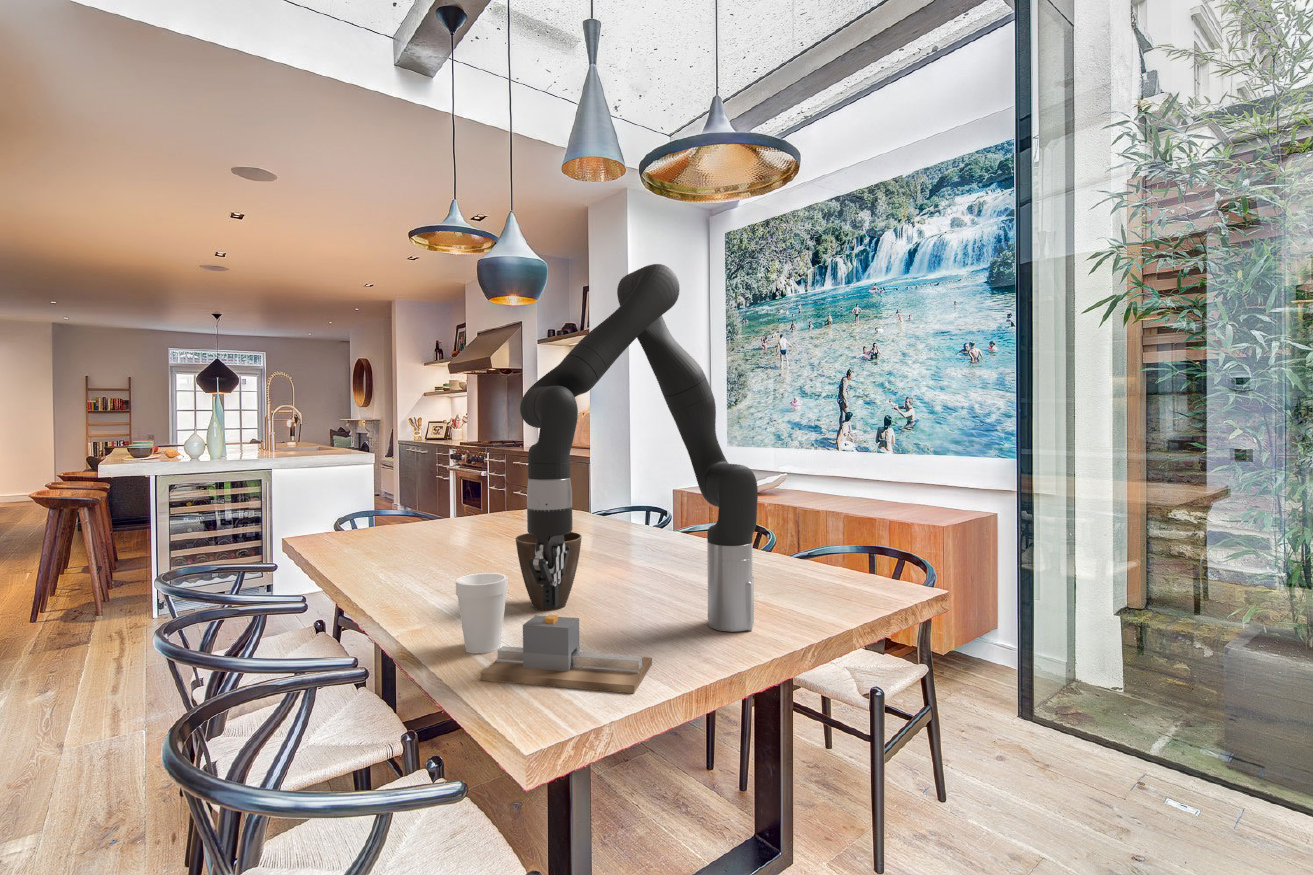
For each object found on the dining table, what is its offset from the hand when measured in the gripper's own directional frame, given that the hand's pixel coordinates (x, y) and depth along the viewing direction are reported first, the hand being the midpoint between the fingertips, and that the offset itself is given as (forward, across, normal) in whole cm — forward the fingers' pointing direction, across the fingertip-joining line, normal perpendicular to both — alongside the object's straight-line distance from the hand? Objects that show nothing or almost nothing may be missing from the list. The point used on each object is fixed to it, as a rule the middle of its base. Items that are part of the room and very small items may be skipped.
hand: (551, 606), depth 109 cm
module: (+10, 0, 0) cm, 10 cm away
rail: (+10, 0, -3) cm, 10 cm away
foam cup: (+11, +8, +17) cm, 22 cm away
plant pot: (+11, +36, +15) cm, 41 cm away
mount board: (+11, 0, -3) cm, 11 cm away
